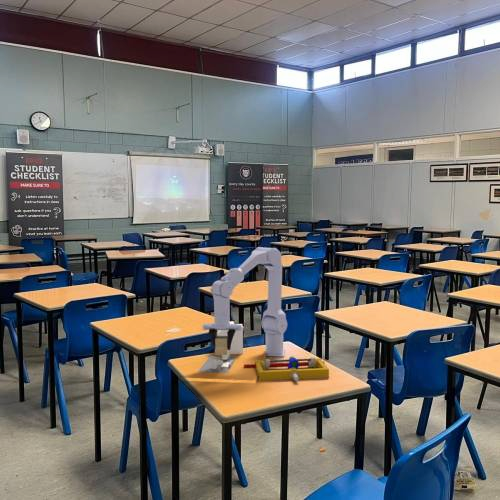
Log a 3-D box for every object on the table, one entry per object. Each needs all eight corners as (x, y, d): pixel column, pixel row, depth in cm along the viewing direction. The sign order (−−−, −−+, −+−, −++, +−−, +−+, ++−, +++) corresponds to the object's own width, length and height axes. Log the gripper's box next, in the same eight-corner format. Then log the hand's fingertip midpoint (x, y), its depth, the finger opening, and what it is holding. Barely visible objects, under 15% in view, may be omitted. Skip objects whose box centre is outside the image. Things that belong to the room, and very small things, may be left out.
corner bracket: (243, 356, 206) (242, 326, 205) (214, 357, 205) (214, 327, 205) (241, 349, 217) (241, 321, 216) (215, 349, 216) (214, 321, 215)
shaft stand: (209, 358, 203) (209, 349, 202) (236, 359, 201) (236, 350, 201) (197, 374, 184) (197, 363, 184) (227, 375, 182) (227, 364, 182)
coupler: (215, 354, 189) (215, 337, 188) (217, 351, 193) (217, 334, 193) (227, 355, 188) (227, 337, 188) (229, 351, 192) (229, 334, 192)
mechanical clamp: (243, 353, 190) (322, 350, 192) (243, 370, 190) (322, 366, 193) (248, 368, 171) (335, 364, 174) (248, 386, 172) (335, 382, 175)
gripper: (200, 314, 187) (201, 351, 188) (239, 315, 185) (239, 352, 186) (204, 311, 194) (205, 346, 195) (242, 311, 192) (243, 347, 193)
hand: (222, 349), depth 191 cm, fingers closed on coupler, 4 cm apart
